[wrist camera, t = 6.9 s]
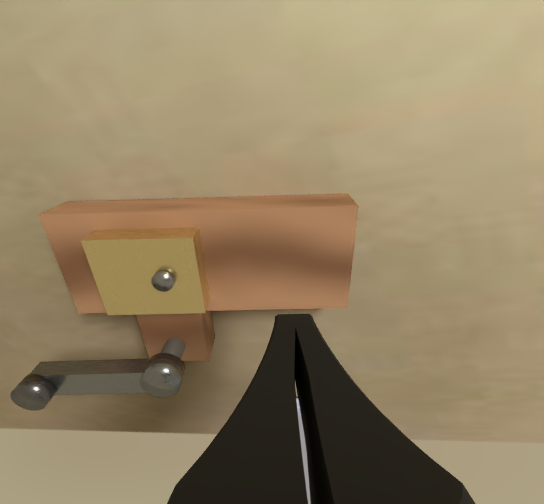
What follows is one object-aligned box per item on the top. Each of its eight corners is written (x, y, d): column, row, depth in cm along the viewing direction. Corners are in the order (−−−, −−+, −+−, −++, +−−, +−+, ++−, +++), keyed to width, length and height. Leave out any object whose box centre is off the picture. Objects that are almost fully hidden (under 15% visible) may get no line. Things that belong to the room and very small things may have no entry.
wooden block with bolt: (210, 298, 19) (204, 317, 17) (119, 300, 19) (103, 319, 17) (199, 227, 17) (190, 240, 15) (96, 229, 17) (76, 243, 15)
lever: (181, 352, 18) (170, 381, 16) (188, 378, 20) (178, 409, 18) (31, 356, 19) (2, 386, 17) (45, 382, 20) (20, 412, 18)
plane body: (335, 334, 23) (347, 378, 20) (115, 338, 24) (85, 383, 20) (347, 193, 18) (367, 217, 14) (66, 201, 19) (12, 226, 15)
